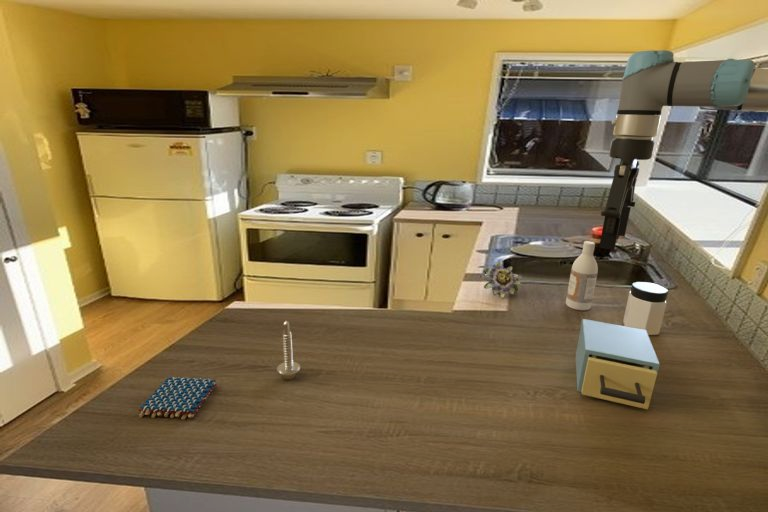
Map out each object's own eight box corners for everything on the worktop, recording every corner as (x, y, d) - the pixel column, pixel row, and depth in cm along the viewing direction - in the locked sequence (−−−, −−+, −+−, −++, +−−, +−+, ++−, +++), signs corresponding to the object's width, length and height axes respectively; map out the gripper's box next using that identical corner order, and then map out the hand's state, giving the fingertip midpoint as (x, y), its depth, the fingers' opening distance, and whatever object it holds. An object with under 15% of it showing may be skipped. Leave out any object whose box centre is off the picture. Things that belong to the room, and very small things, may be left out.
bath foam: (561, 301, 130) (572, 238, 124) (583, 301, 131) (595, 239, 124) (571, 311, 124) (583, 245, 118) (595, 311, 124) (607, 246, 118)
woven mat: (167, 383, 86) (166, 374, 85) (218, 386, 86) (217, 377, 85) (136, 417, 76) (134, 408, 76) (194, 421, 76) (192, 411, 75)
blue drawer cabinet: (648, 407, 83) (659, 364, 79) (577, 391, 87) (585, 349, 84) (636, 368, 96) (646, 329, 93) (575, 356, 100) (582, 318, 97)
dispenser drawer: (653, 428, 75) (663, 391, 73) (582, 411, 80) (590, 375, 77) (637, 372, 93) (644, 340, 90) (579, 360, 97) (585, 329, 94)
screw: (296, 367, 93) (304, 379, 89) (274, 374, 90) (281, 386, 86) (293, 313, 88) (302, 323, 85) (270, 318, 86) (278, 328, 82)
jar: (643, 320, 119) (653, 281, 115) (666, 334, 111) (677, 292, 108) (615, 322, 118) (623, 282, 114) (636, 336, 110) (646, 294, 106)
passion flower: (499, 313, 134) (485, 288, 127) (485, 293, 143) (471, 270, 137) (530, 294, 133) (518, 268, 126) (513, 276, 142) (501, 251, 136)
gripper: (622, 136, 95) (604, 227, 102) (600, 138, 76) (580, 251, 83) (661, 137, 91) (639, 232, 98) (648, 140, 72) (623, 259, 78)
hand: (612, 241), depth 90 cm, fingers open, 13 cm apart
